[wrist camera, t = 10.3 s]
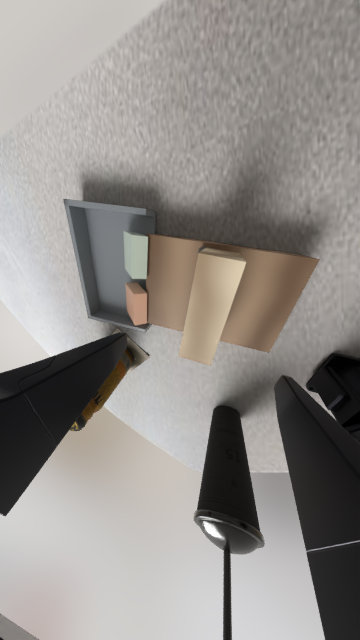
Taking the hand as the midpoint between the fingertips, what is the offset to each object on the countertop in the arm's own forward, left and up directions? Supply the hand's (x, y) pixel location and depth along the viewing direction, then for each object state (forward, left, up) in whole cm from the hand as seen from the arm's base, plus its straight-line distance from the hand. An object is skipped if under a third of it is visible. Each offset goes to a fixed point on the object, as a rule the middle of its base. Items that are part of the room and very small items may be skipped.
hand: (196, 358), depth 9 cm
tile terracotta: (+8, +2, -10) cm, 13 cm away
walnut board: (0, 0, -12) cm, 12 cm away
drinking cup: (-8, +23, -12) cm, 27 cm away
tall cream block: (0, 0, -9) cm, 9 cm away
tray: (+12, 0, -12) cm, 17 cm away
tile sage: (+8, -3, -10) cm, 13 cm away
